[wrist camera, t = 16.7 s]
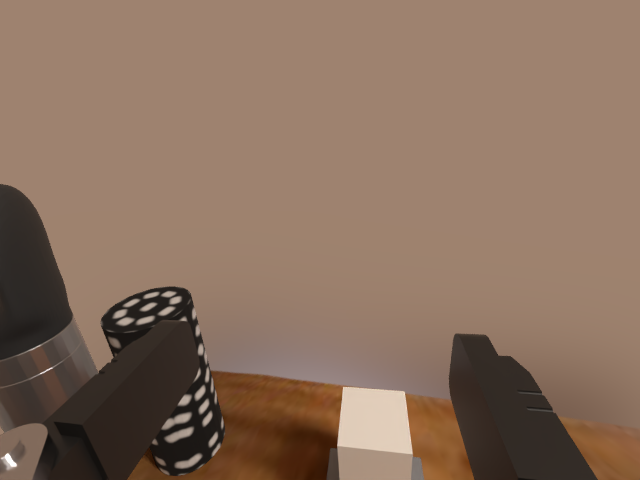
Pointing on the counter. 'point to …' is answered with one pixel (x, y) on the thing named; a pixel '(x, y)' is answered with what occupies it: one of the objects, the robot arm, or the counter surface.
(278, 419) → the counter surface
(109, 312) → the white-spotted black cylinder
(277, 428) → the counter surface
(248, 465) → the counter surface
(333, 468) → the base plate
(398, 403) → the block
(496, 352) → the robot arm
